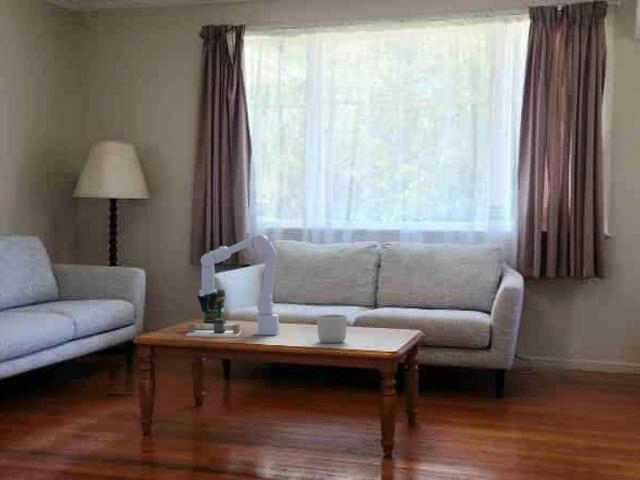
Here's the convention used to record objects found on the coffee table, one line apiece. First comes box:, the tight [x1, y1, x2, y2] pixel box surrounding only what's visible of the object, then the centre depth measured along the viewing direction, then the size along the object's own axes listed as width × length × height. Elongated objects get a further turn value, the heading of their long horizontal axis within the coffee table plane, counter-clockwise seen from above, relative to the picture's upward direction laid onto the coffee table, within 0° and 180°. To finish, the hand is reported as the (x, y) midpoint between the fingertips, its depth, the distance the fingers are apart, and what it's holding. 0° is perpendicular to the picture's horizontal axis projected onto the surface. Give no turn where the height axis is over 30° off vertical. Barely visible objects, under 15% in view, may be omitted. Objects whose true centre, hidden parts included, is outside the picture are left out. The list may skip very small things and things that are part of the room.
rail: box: [185, 322, 242, 338], centre depth 352 cm, size 22×12×5 cm, turn 85°
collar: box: [213, 317, 226, 333], centre depth 352 cm, size 4×5×6 cm
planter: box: [316, 313, 348, 344], centre depth 335 cm, size 12×12×11 cm
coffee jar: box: [203, 288, 226, 324], centre depth 371 cm, size 10×8×19 cm
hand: (208, 310), depth 358 cm, fingers open, 7 cm apart
